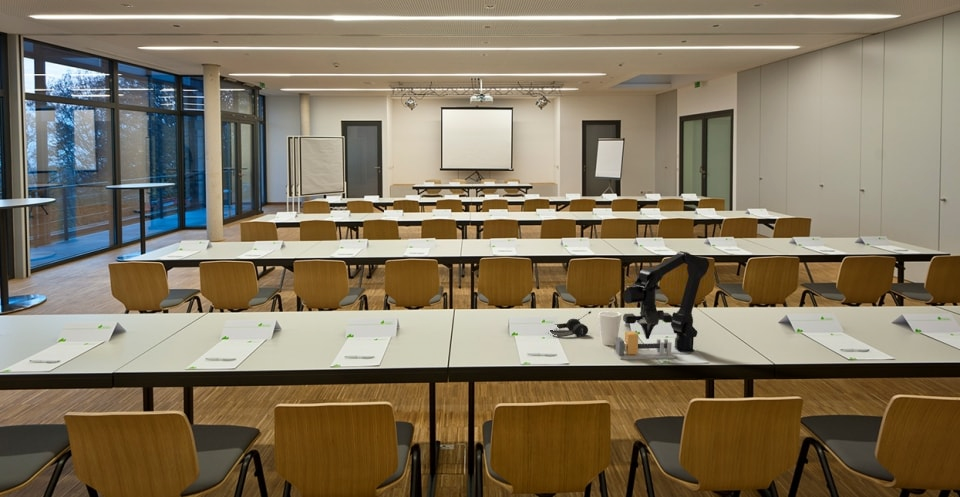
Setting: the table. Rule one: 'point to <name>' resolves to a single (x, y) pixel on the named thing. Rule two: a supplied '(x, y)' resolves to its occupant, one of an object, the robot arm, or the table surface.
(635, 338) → the sleeve
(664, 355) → the comb base
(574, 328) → the headset
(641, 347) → the dark grey rod
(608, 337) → the foam cup
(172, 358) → the table surface
